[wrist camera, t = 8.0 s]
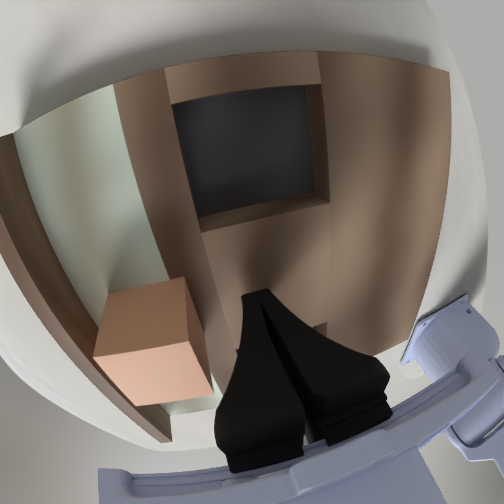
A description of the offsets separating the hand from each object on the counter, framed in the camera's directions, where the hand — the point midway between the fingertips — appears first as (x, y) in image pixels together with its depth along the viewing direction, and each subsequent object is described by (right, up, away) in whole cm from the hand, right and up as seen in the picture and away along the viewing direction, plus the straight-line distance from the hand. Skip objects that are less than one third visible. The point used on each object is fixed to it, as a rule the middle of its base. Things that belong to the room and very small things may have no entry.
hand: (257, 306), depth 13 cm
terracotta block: (-5, -1, 0) cm, 5 cm away
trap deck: (+1, +2, +3) cm, 3 cm away
